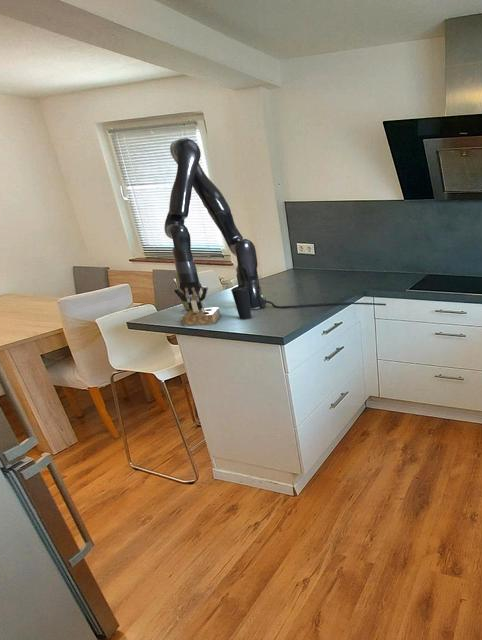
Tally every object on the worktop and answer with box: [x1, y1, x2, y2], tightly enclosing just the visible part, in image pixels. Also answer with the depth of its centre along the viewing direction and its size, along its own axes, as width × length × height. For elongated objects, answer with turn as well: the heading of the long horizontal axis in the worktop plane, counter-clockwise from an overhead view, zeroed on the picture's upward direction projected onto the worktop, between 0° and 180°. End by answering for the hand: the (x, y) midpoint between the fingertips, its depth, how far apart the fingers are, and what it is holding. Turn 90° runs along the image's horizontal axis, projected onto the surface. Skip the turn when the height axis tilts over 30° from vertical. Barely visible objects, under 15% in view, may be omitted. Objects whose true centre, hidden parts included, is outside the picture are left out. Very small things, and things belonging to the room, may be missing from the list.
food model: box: [174, 269, 205, 311], centre depth 183 cm, size 10×7×20 cm
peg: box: [191, 299, 200, 312], centre depth 171 cm, size 2×2×9 cm
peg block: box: [181, 307, 221, 327], centre depth 171 cm, size 12×12×4 cm
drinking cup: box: [230, 273, 252, 320], centre depth 171 cm, size 8×8×20 cm
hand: (196, 309), depth 171 cm, fingers closed on peg, 2 cm apart
